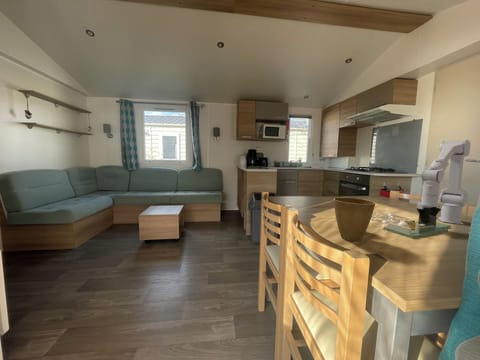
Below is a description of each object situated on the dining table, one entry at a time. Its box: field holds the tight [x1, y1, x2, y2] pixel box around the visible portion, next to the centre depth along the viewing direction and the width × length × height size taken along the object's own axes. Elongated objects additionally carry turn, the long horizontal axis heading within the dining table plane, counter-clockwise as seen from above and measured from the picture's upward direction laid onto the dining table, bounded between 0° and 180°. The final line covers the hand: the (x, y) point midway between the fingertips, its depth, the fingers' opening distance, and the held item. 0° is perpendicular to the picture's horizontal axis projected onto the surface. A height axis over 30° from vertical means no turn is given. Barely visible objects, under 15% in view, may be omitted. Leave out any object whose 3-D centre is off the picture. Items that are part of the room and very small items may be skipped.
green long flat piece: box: [383, 220, 452, 239], centre depth 97 cm, size 36×12×3 cm, turn 111°
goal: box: [387, 218, 420, 235], centre depth 92 cm, size 6×9×4 cm
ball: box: [398, 221, 409, 228], centre depth 92 cm, size 4×4×4 cm
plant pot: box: [333, 196, 376, 242], centre depth 84 cm, size 15×15×16 cm
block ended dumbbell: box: [404, 215, 438, 230], centre depth 96 cm, size 14×5×5 cm, turn 111°
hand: (427, 222), depth 98 cm, fingers closed on block ended dumbbell, 4 cm apart
